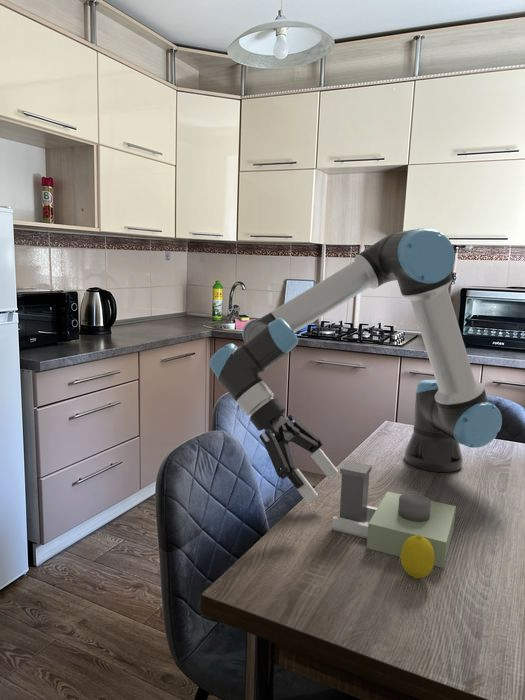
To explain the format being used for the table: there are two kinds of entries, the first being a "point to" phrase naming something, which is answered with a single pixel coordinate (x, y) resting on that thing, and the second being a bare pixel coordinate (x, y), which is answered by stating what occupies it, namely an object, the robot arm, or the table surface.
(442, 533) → the green block with knob
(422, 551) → the lemon
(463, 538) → the table surface
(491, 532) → the table surface
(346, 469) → the gray capped pillar
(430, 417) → the robot arm
